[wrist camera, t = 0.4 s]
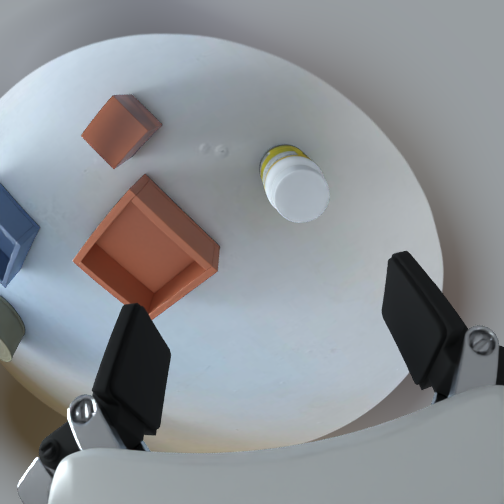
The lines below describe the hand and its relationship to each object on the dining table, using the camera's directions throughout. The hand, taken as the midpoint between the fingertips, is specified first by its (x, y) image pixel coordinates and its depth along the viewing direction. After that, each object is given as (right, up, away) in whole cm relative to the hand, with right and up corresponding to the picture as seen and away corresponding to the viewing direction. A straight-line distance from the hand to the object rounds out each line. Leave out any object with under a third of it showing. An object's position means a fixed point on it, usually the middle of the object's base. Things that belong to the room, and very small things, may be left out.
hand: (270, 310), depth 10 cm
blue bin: (-34, +6, +16) cm, 38 cm away
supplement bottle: (+2, +10, +16) cm, 19 cm away
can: (-48, -10, +25) cm, 55 cm away
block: (-12, +14, +13) cm, 22 cm away
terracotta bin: (-12, +3, +19) cm, 23 cm away
